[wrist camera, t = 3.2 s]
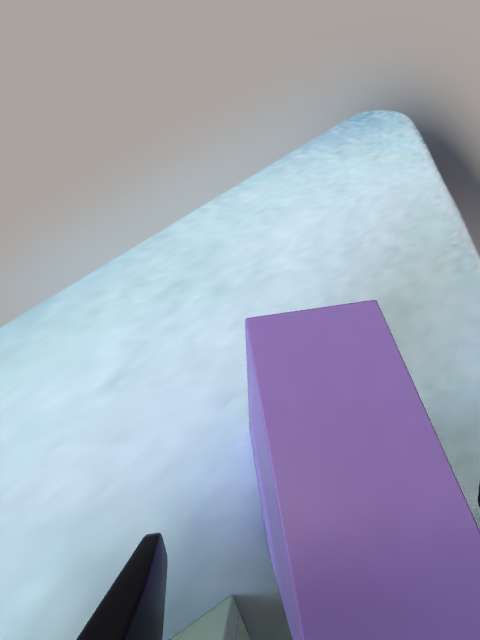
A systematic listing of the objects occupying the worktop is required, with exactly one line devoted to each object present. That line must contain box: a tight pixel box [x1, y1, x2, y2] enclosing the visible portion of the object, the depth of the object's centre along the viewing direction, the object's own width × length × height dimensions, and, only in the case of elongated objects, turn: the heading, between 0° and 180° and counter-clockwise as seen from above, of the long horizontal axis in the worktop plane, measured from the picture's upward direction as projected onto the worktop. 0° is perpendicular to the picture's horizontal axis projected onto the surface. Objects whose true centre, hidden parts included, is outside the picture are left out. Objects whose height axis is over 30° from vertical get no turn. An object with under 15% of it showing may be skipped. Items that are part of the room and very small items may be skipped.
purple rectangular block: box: [245, 300, 480, 640], centre depth 11 cm, size 6×3×13 cm, turn 8°
